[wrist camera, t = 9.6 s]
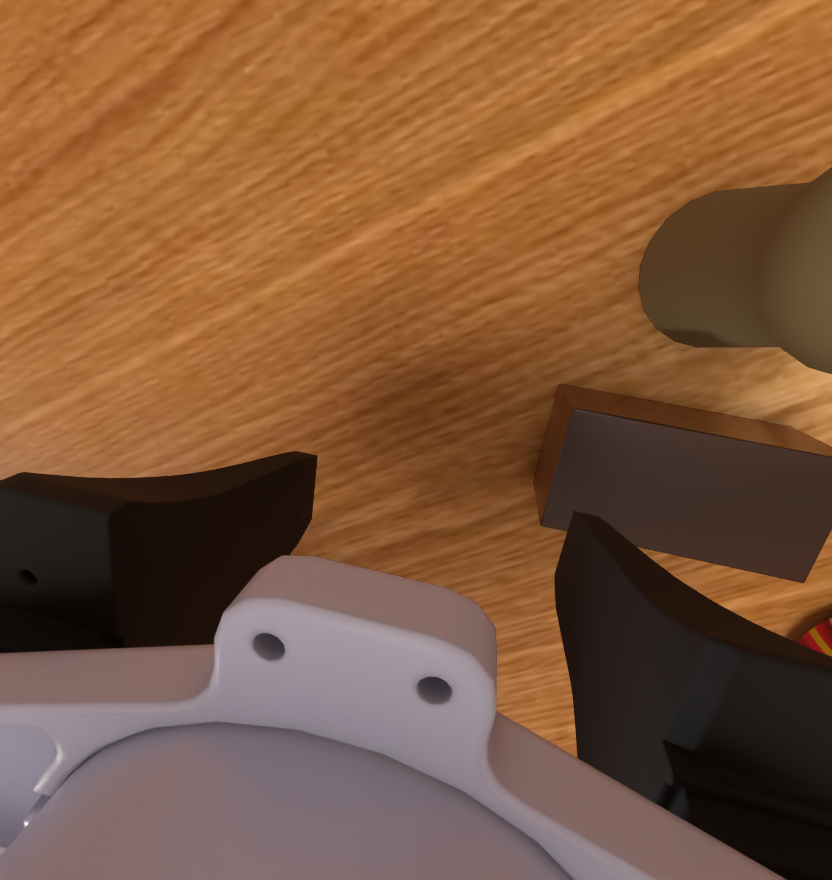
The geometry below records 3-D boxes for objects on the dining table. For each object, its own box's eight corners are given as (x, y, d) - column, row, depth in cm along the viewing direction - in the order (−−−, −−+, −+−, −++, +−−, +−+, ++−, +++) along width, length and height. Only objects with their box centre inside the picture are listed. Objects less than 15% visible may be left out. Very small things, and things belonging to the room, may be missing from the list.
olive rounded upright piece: (805, 169, 18) (1224, 14, 7) (803, 331, 19) (1146, 388, 9) (632, 211, 19) (785, 128, 9) (644, 360, 21) (785, 437, 10)
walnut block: (747, 527, 22) (804, 584, 18) (532, 482, 23) (539, 526, 19) (791, 426, 21) (866, 463, 16) (558, 383, 22) (572, 407, 17)
